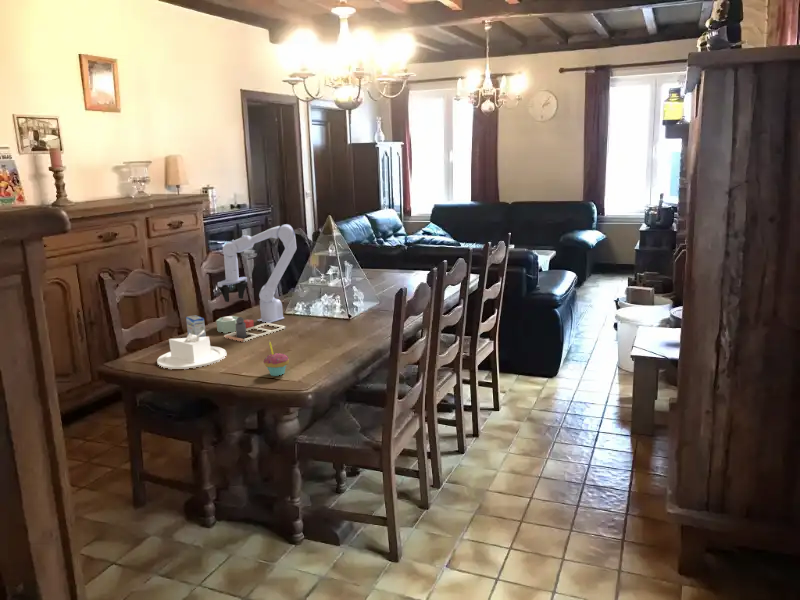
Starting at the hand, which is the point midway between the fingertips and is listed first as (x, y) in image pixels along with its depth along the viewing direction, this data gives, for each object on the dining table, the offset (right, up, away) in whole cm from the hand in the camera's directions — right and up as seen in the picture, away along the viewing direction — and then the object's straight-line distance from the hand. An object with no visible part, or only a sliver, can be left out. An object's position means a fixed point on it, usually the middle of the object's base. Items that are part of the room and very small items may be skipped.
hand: (234, 300), depth 293 cm
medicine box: (-11, -16, -18) cm, 26 cm away
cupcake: (+32, -25, -66) cm, 78 cm away
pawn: (+9, -15, -21) cm, 28 cm away
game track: (+13, -14, -16) cm, 25 cm away
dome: (0, -12, -10) cm, 15 cm away
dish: (-4, -22, -46) cm, 51 cm away
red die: (+8, -12, -7) cm, 16 cm away
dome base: (0, -13, -9) cm, 16 cm away
